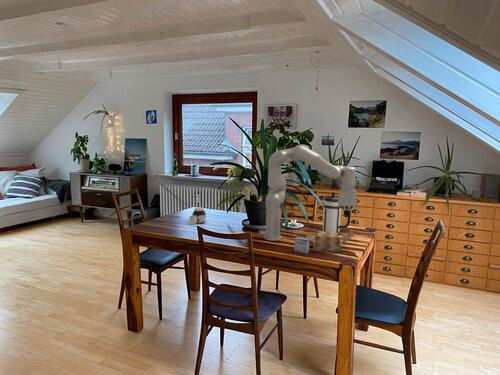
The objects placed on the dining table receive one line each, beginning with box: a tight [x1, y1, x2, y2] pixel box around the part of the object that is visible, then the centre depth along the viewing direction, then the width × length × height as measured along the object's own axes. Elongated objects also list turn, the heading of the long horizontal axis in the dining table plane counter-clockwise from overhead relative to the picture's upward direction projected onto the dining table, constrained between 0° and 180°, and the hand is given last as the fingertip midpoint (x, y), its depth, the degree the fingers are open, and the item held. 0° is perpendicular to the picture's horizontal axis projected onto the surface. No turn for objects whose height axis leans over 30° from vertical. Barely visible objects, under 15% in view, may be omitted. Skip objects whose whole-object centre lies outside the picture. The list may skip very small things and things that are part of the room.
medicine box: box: [293, 236, 310, 255], centre depth 212 cm, size 8×4×9 cm, turn 66°
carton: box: [305, 230, 343, 254], centre depth 222 cm, size 21×24×7 cm
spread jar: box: [188, 206, 207, 226], centre depth 270 cm, size 12×11×12 cm
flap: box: [341, 228, 354, 244], centre depth 218 cm, size 1×12×8 cm
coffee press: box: [321, 191, 351, 237], centre depth 251 cm, size 17×16×30 cm
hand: (346, 216), depth 216 cm, fingers closed
